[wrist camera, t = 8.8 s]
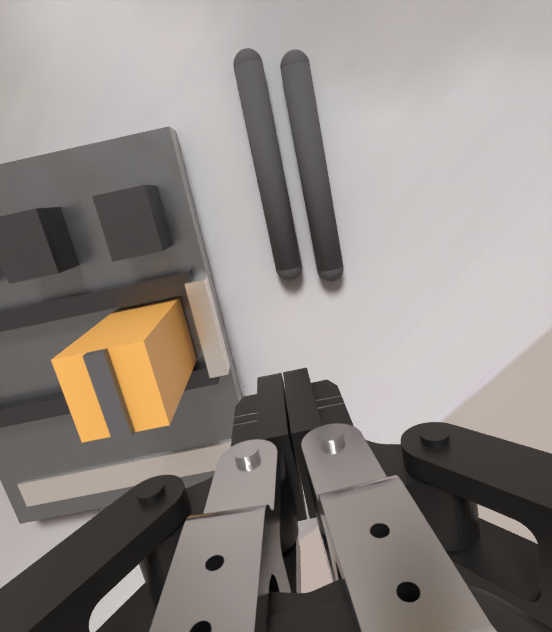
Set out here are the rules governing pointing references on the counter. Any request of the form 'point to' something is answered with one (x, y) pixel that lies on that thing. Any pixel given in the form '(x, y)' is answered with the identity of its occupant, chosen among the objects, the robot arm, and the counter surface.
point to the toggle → (127, 371)
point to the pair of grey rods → (308, 159)
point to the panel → (92, 307)
